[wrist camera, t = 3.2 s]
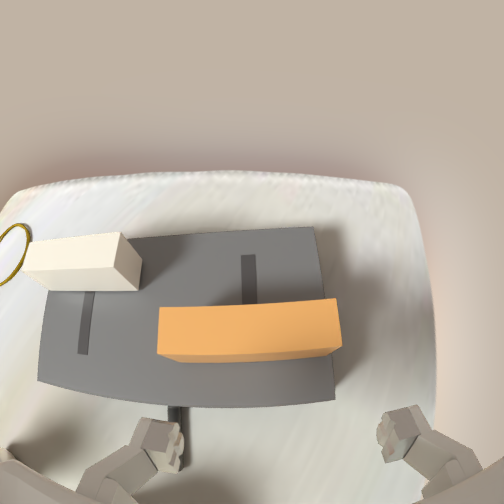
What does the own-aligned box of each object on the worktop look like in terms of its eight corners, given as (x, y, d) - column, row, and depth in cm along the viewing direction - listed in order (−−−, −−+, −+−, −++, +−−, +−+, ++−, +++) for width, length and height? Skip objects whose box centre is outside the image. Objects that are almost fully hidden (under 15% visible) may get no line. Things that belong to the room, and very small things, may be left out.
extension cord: (-3, 226, 36) (-9, 220, 34) (41, 226, 34) (34, 219, 33) (-25, 284, 30) (-32, 279, 28) (15, 297, 29) (7, 292, 27)
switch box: (325, 466, 19) (338, 481, 14) (67, 443, 19) (39, 446, 15) (305, 248, 30) (312, 221, 25) (82, 261, 30) (60, 241, 26)
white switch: (138, 290, 22) (113, 267, 18) (49, 290, 23) (21, 270, 18) (142, 259, 24) (120, 231, 20) (55, 264, 24) (29, 242, 20)
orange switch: (326, 355, 19) (342, 345, 15) (179, 362, 19) (157, 353, 15) (321, 317, 21) (335, 298, 16) (180, 324, 21) (159, 307, 17)
